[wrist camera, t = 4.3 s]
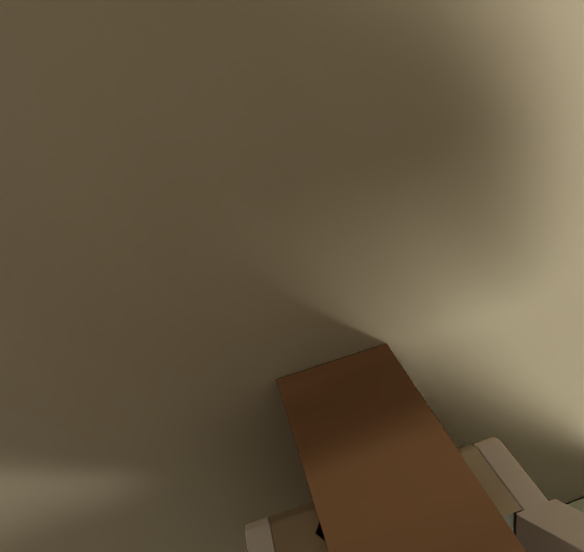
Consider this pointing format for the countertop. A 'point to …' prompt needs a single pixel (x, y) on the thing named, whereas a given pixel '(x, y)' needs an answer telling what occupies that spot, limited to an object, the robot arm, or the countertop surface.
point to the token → (385, 463)
